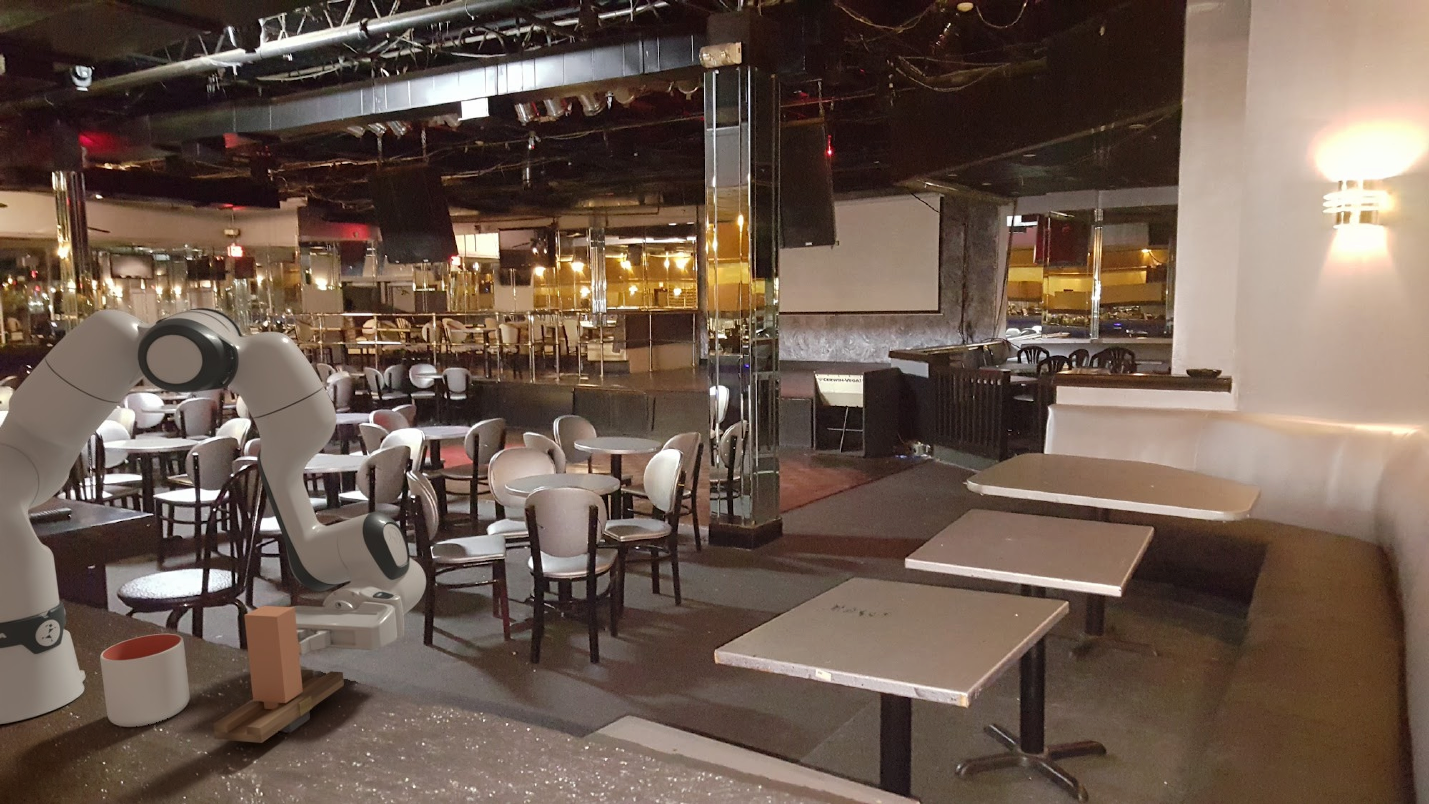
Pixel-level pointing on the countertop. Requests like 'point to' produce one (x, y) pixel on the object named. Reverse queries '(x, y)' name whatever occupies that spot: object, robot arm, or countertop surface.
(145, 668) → the cup
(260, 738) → the beam
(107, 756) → the countertop surface
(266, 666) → the plate
